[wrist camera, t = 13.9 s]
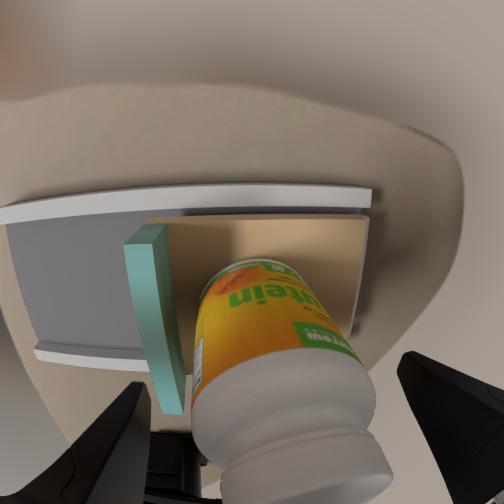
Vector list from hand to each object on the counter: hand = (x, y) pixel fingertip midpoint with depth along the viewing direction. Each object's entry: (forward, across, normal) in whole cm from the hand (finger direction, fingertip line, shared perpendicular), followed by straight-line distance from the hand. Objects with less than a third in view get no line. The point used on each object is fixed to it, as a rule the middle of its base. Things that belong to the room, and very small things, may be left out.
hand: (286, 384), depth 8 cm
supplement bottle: (+5, 0, 0) cm, 5 cm away
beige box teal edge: (+8, 0, 0) cm, 8 cm away
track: (+9, +5, 0) cm, 10 cm away
